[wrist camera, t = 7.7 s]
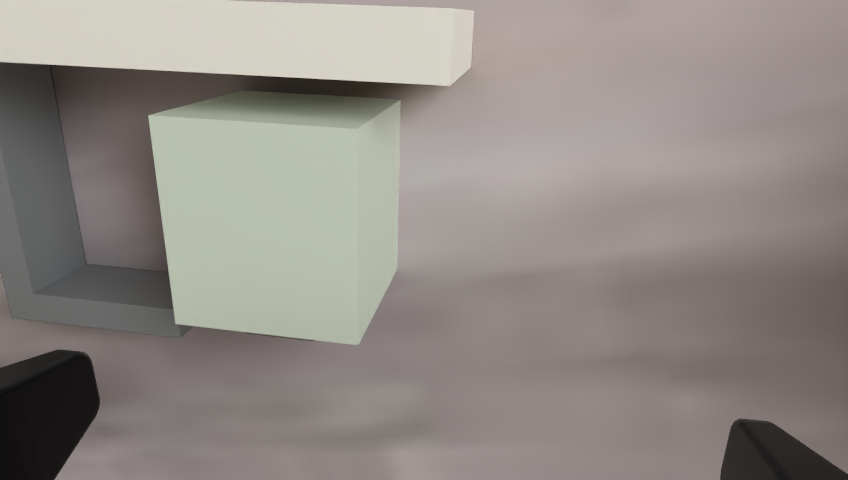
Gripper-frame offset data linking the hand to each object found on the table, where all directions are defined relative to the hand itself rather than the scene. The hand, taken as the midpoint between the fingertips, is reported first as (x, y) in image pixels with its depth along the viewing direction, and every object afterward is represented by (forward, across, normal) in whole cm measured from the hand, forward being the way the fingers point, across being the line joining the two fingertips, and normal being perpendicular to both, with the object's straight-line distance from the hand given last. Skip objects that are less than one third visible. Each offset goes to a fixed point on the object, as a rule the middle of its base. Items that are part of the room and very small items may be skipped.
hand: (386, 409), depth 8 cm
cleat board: (+11, +7, 0) cm, 13 cm away
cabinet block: (+11, +5, 0) cm, 12 cm away
